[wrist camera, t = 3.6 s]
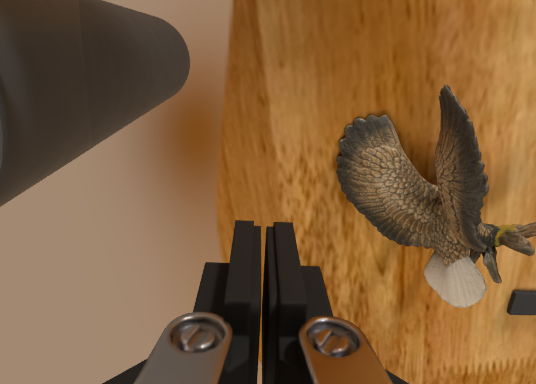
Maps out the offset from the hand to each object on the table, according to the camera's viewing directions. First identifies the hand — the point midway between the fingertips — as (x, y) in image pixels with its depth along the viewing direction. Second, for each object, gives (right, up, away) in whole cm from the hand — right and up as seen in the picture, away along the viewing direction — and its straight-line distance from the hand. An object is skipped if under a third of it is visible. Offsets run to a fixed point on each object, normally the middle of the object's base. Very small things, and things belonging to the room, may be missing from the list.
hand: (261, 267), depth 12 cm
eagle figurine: (+8, +3, +9) cm, 13 cm away
